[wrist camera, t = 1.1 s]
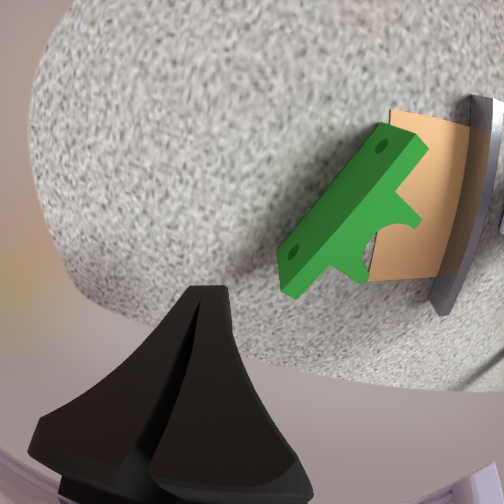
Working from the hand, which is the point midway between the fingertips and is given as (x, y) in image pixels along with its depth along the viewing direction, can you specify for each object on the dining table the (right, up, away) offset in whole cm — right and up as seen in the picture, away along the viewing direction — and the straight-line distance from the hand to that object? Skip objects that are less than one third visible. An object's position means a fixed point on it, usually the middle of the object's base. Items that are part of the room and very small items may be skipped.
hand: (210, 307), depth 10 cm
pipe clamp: (+8, +5, +8) cm, 12 cm away
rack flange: (+15, +5, +7) cm, 18 cm away
